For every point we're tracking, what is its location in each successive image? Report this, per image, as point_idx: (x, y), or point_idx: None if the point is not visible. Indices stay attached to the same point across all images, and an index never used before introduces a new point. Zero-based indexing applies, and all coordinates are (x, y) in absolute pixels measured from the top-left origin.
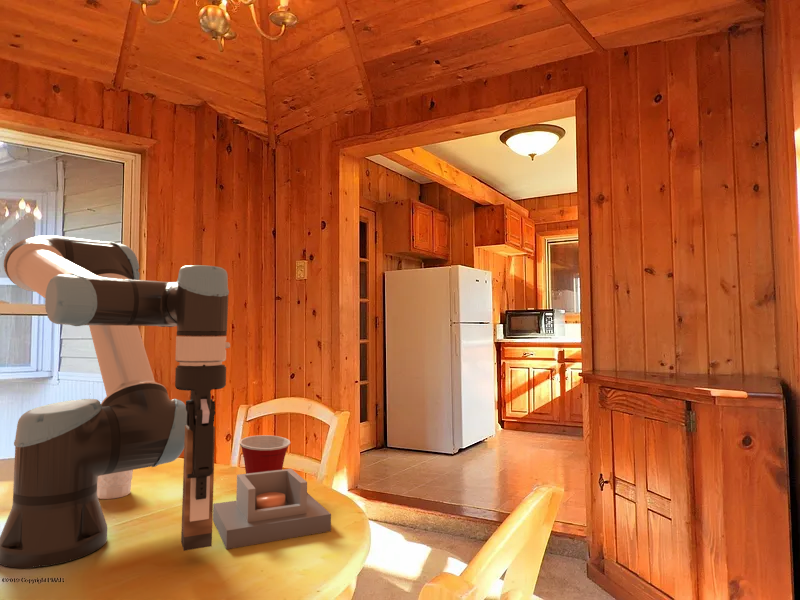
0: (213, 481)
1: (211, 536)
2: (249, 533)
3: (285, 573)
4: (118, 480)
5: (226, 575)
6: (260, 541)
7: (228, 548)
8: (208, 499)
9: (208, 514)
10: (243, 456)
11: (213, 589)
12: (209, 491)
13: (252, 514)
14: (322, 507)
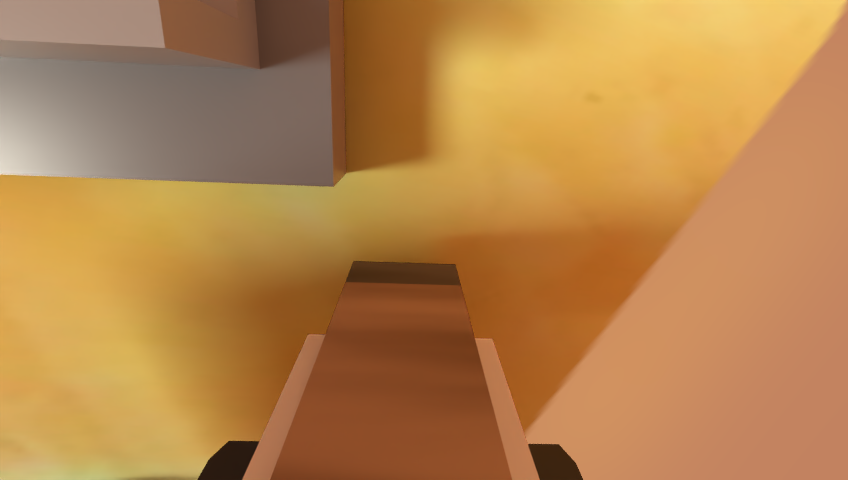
0: (510, 474)
1: (458, 280)
2: (337, 79)
3: (667, 24)
4: None
5: (559, 215)
6: (342, 29)
7: (345, 165)
8: (512, 411)
9: (494, 353)
10: None
11: (627, 265)
12: (528, 447)
13: (244, 37)
14: None
